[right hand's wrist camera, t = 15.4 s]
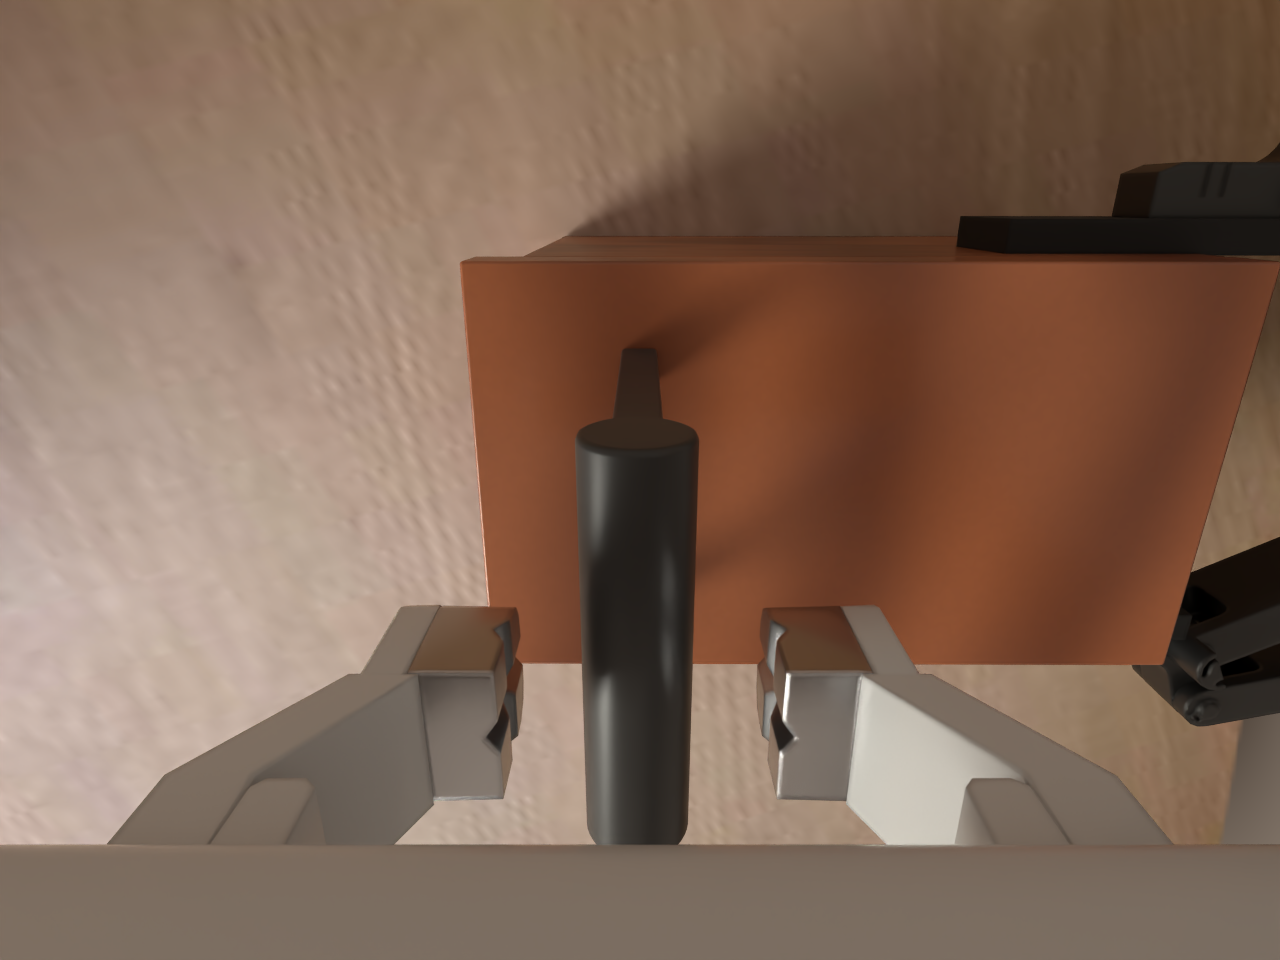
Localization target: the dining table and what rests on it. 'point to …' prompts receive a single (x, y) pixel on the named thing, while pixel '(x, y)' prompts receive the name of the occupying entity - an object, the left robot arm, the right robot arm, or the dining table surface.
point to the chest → (781, 247)
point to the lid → (840, 466)
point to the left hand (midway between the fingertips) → (950, 435)
